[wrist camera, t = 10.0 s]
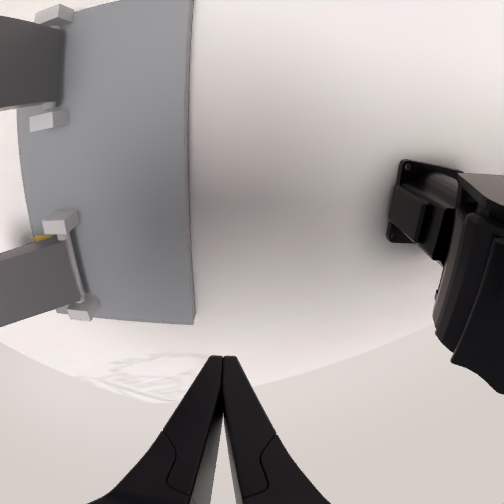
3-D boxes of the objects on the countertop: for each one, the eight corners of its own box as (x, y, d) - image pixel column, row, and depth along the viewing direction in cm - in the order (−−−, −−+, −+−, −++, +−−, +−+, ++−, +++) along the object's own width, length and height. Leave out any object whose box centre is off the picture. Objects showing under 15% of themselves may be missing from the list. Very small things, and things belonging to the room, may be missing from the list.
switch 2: (70, 233, 18) (-42, 270, 12) (88, 302, 21) (-13, 336, 15) (68, 227, 19) (-39, 261, 13) (84, 293, 22) (-12, 324, 16)
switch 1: (65, 25, 12) (-35, 3, 3) (61, 106, 15) (-48, 127, 6) (48, 31, 12) (-53, 17, 3) (44, 110, 14) (-63, 135, 6)
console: (194, -5, 13) (185, -24, 10) (195, 313, 25) (190, 342, 22) (32, 32, 13) (5, 27, 10) (63, 303, 24) (47, 326, 21)
